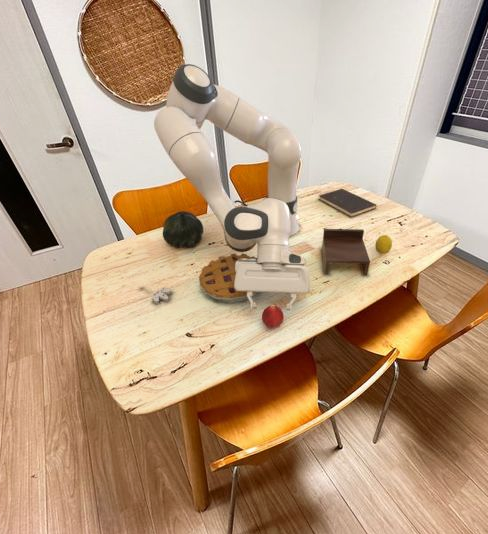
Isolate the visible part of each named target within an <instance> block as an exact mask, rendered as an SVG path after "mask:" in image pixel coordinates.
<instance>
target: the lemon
mask: <svg viewBox="0 0 488 534" xmlns="http://www.w3.org/2000/svg"><path fill="white" fill-rule="evenodd" d="M374 244H375V245H374V247H375V250H376V252H377V253H378V254H380V255H385V254H387V253H389V252H390V251H391V249H392V247H393V240H392V238H391V237H390V236H389V235H387V234H383V235H380V236H379V237H378V238H377V239H376V241H375V243H374Z"/></svg>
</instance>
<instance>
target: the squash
mask: <svg viewBox="0 0 488 534" xmlns="http://www.w3.org/2000/svg"><path fill="white" fill-rule="evenodd" d="M162 227H163V228H162V239H163V240H164V242H166V244H168V245H169V246H171V247H174V248H176V249H179V248H182V249H185V248H186V247H187V248H188V249H189V248H190V249H192V248H194V247H195V246H196V245H199V243H200V242H201V241H202V237H203V233H204V225H203V223H202V221H201V220H200V219H199V218H198V217H197V216H196V215H195V214H194V213H192V212H189V211H185V210H182V211H181V210H180V211H178V212H175V213H173V214H171V215H169V216H167V218H165V220H164V222H163V226H162Z"/></svg>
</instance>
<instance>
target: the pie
mask: <svg viewBox="0 0 488 534" xmlns="http://www.w3.org/2000/svg"><path fill="white" fill-rule="evenodd" d="M241 258H256V257H255V256H254V255H253V256H249V255H248V254H246V253H241V254H236V253H231V254H230V255H227V256H226V255H225V256H224V255H222V256H219V257H218V259H216V260H213V259H212V260H211V261H209V263H208V264H207V265H206V266H203V267H202V269H201V271H200V274H199V277H198V278H199V287H200V288H201V290H202V291H203V292H204V294H206V295H207V296H209V297H211V298H212V299H213V300H215V301H217V302H218V303H224V304H225V303H226V304H233V303H237V302H242V301H246V300H249V299H248V297H247V291H236V289H235V288H234V282H235V276H236V271H235V263H236V261H237V260H239V259H241ZM240 261H241V260H240ZM246 262H247V261H246ZM258 293H259V292H253V296H251V297H252V298H253V297H254V296H256V295H257V294H258Z"/></svg>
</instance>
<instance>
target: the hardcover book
mask: <svg viewBox="0 0 488 534" xmlns="http://www.w3.org/2000/svg"><path fill="white" fill-rule="evenodd" d="M318 197H319V198H318V200H319V201H320V202H321V203H324V204H326V205H327V206H329V207H331V208H333V209H334V210H336V211H338V212H340V213H342V214H344V215H346V216H348V217H349V218H354V217H357V216H360V215H362V214H364V213H368V212H370V211H374V210H375V209H376V208H377V204H376V203H374V202H372V201H370V200H367V199H366V198H364V197H362V196H359V195H357V194H355V193H353V192H350V191H348V190H347V189H344V188H339V189H336V190H333V191H329V192H326V193H321V194H320V195H318Z"/></svg>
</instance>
